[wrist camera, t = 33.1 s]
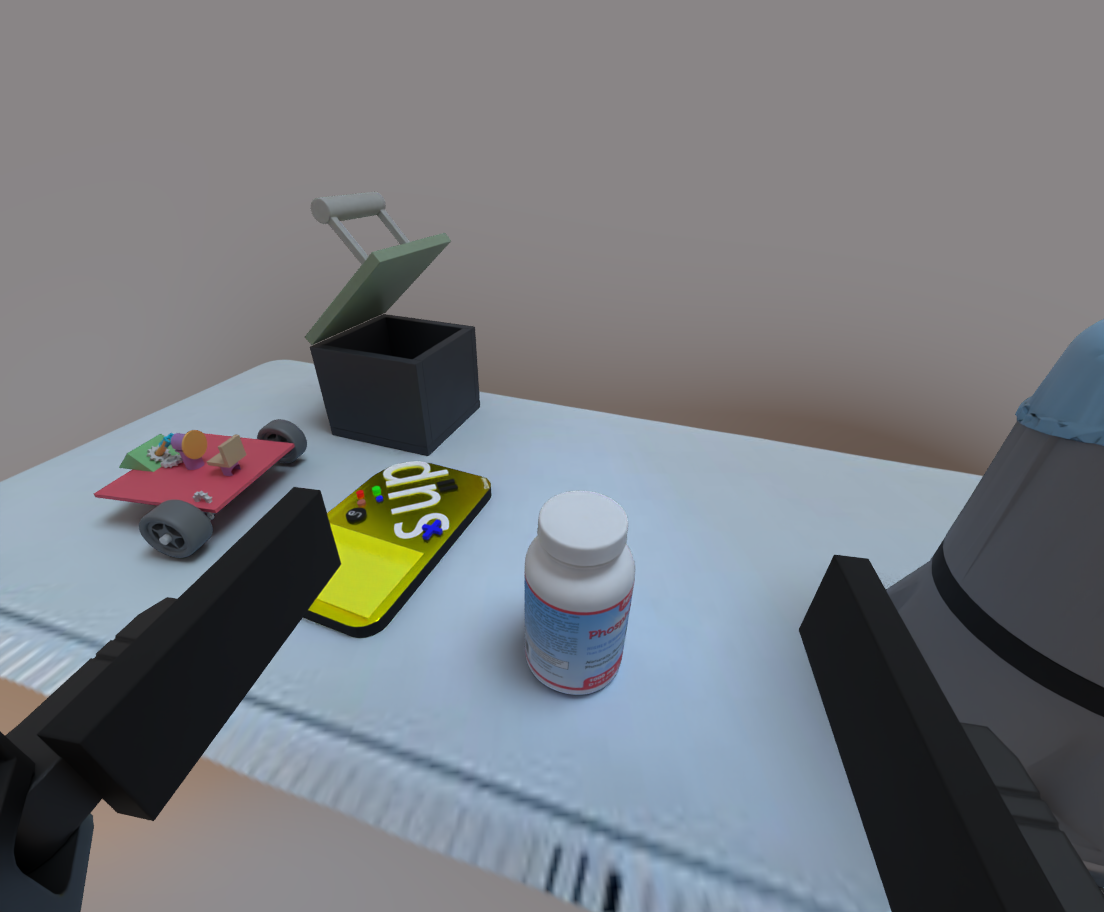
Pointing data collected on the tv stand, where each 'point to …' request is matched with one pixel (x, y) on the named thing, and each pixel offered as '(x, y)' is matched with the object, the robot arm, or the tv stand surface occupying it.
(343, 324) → the box lid
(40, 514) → the tv stand surface
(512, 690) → the tv stand surface
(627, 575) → the pill bottle
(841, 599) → the robot arm
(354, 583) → the game console
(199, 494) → the toy car
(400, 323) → the black box
